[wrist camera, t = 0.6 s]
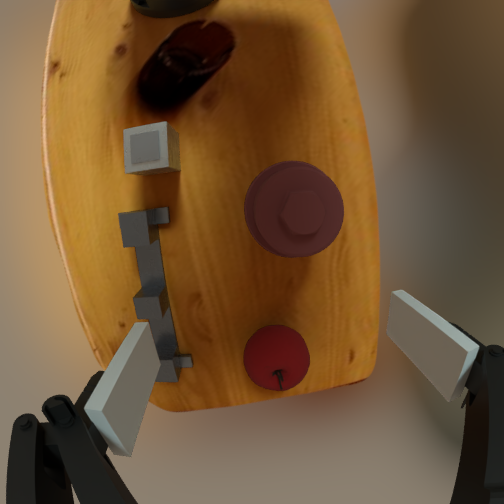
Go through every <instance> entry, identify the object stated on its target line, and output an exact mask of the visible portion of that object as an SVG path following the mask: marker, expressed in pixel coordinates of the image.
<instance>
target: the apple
mask: <svg viewBox="0 0 504 504" xmlns="http://www.w3.org/2000/svg"><path fill="white" fill-rule="evenodd" d="M244 365H245V368H246V371H247V373H248V375H249V377H250V378H251V380H252V381H253V382H254V383H255V384H257V385H258V386H261V387H263V388H265V389H270V390H276V391H284V390H288V389H290V388H292V387H294V386H296V385H297V384H298V383H300V382H301V381H302V379H303V378H304V377H305V375H306V373H307V371H308V368H309V365H310V355H309V352H308V348H307V346H306V344H305V341H304V339H303V338H302V336H301V335H300V334H299V333H298V332H296V331H295V330H294V329H291V328H289V327H286V326H283V325H271V326H266V327H263V328H261V329H259V330H258V331H257V332H255V333H254V334H253V336H252V337H251V338H250V339H249V340H248V342H247V344H246V347H245V350H244Z"/></svg>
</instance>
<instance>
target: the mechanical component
mask: <svg viewBox="0 0 504 504" xmlns="http://www.w3.org/2000/svg"><path fill="white" fill-rule="evenodd" d="M244 212H245V219H246V223H247V226H248V228H249V230H250V232H251V234H252V236H253V237H254V239H255V240H256V241H257V242H258V243H259V244H260V245H261V246H262V247H263V248H264V249H266V250H267V251H269V252H271V253H273V254H276V255H278V256H282V257H290V258H293V257H306V256H311V255H314V254H316V253H319V252H320V251H322V250H324V249H325V248H326V247H328V246H329V245H330V244H331V243H332V242H333V241H334V239H335V238H336V236H337V235H338V233H339V231H340V229H341V226H342V222H343V216H344V206H343V200H342V197H341V194H340V192H339V190H338V188H337V187H336V185H335V184H334V182H333V181H332V180H331V179H330V178H329V177H328V176H326V175H325V174H324V173H323V172H322V171H321V170H319V169H318V168H316V167H315V166H313V165H311V164H308V163H305V162H300V161H284V162H280V163H277V164H274V165H272V166H270V167H268V168H267V169H265V170H264V171H262V172H261V173H260V174H259V175H258V176H257V177H256V178H255V179H254V181H253V182H252V183H251V185H250V187H249V189H248V191H247V194H246V198H245V204H244Z"/></svg>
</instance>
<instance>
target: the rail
mask: <svg viewBox="0 0 504 504" xmlns="http://www.w3.org/2000/svg"><path fill="white" fill-rule="evenodd" d="M118 215H119V224H120V228H121V233H122V240H123V247H124V248H125V247H135V249H136V256H137V262H138V268H139V274H140V279H141V285H142V288H141V289H140V290H139V291H138V293H137V294H136V295H135V296H134V297H133V301H134V305H135V310H136V314H137V318H138V319H149V323H150V327H151V331H152V335H153V339H154V343H155V347H156V351H157V354H158V357H159V360H160V364H161V365H160V368H159V371H158V374H157V377H156V380H155V382H178V380H179V376H180V372H181V368H183V367H193V361H192V356H191V354H180V352H179V348H178V343H177V339H176V334H175V329H174V324H173V319H172V314H171V309H170V303H169V298H168V292H167V286H166V280H165V274H164V268H163V261H162V254H161V246H160V239H159V231H158V224H162V223H169V222H170V215H169V207H163V208H154V209H146V210H138V211H131V212H124V213H118Z"/></svg>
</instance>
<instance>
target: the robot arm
mask: <svg viewBox="0 0 504 504" xmlns="http://www.w3.org/2000/svg"><path fill="white" fill-rule="evenodd" d="M130 1H131V2H132V4H133V6H134V8H135V9H136V10H137V11H138V12H139V13H141V14H143V15H146V16H149V17H156V18H168V17H175V16H180V15H184V14H188V13H191V12H194V11H196V10H198V9H201V8H203V7H205V6H206V5H208V4H209V3H211V2H212V1H214V0H130ZM386 334H387V335H388V336H389V337H390V338H391V340H392V341H393V342H394V343H395V344H396V345H397V346H398V347H399V348H400V349H401V350H402V351H403V352H404V353H405V355H406V356H407V357H408V358H409V359H410V360H411V361H412V362H413V363H414V364H415V365H416V366H417V368H418V369H419V370H420V371H421V372H422V373H423V374H424V375H425V376H426V377H427V379H428V380H429V381H430V382H431V383H432V384H433V385H434V386H435V388H436V389H437V390H438V391H439V392H440V393H441V394H442V395H443V396H444V398H445V399H446V400H447V401H448V402H451V401H452V400H454V399H456V398H458V397H460V396H461V393H462V391H463V389H464V387H467V389H468V393H467V395H466V397H465V399H464V401H463V403H462V406H461V408H463V407H464V405H465V404H466V413H465V425H464V435H463V443H462V450H461V456H460V462H459V467H458V473H457V477H456V482H455V486H454V490H453V494H452V498H451V501H450V504H504V348H503V347H501V346H499V345H489V346H487V347H486V346H484V345H483V344H482V343H480V342H479V341H478V340H477V339H475V338H474V337H473V336H471V335H469V334H468V333H467V332H466V331H464V330H463V329H462V328H460V327H459V326H458V325H456V324H453V323H451V322H447V321H446V320H444V319H443V318H441V317H440V316H439V315H437V314H436V313H435V312H433V311H432V310H430V309H429V308H428V307H426V306H425V305H423V304H422V303H421V302H419V301H417V300H416V299H415V298H413V297H412V296H410V295H409V294H408V293H406V292H405V291H403V290H398V291H393V292H391V299H390V309H389V317H388V325H387V332H386ZM160 365H161V364H160V360H159V357H158V354H157V351H156V347H155V344H154V341H153V337H152V334H151V330H150V326H149V323H148V322H136V323H135V324H134V325H133V327H132V328H131V330H130V331H129V333H128V335H127V336H126V338H125V339H124V341H123V343H122V344H121V346H120V347H119V349H118V351H117V352H116V354H115V356H114V357H113V359H112V360H111V362H110V364H109V365H108V367H107V369H106V370H105V371H98V372H97V373H96V374H95V375H93V376H92V377H91V379H90V380H89V382H88V384H87V386H86V387H85V388H84V391H83V392H82V393H81V395H80V396H79V398H78V400H77V402H76V403H75V405H73V403H72V401H71V400H70V398H69V397H67V396H65V395H55V396H52V397H50V398H49V399H47V400H46V401H45V402H44V404H43V406H42V412H43V414H44V415H45V417H46V418H47V420H48V421H49V422H45V423H40V422H39V421H38V419H37V418H36V417H35V415H33V414H23V415H21V416H19V417H18V418H17V419H16V420H15V422H14V424H13V430H12V435H11V441H10V448H9V458H8V467H7V485H6V504H74V500H73V493H72V487H71V484H72V486H73V488H74V491H75V493H76V495H77V498H78V500H79V502H80V504H138V503H137V502H136V500H135V499H134V497H133V496H132V494H131V493H130V492H129V490H128V488H127V487H126V485H125V484H124V482H123V481H122V479H121V477H120V476H119V474H118V473H117V471H116V470H115V467H114V466H113V464H112V462H111V461H110V459H109V457H108V456H107V454H106V451H107V448H108V447H109V448H110V450H111V451H112V452H113V454H115V455H121V456H128V457H131V455H132V451H133V448H134V444H135V441H136V438H137V435H138V431H139V428H140V425H141V422H142V419H143V415H144V412H145V409H146V406H147V403H148V400H149V397H150V394H151V391H152V388H153V385H154V382H155V380H156V377H157V374H158V371H159V368H160Z"/></svg>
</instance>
